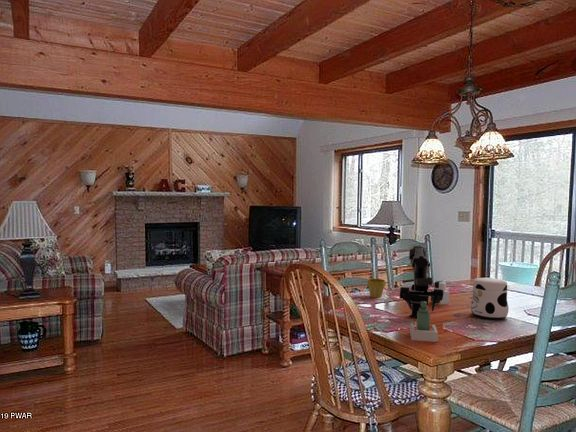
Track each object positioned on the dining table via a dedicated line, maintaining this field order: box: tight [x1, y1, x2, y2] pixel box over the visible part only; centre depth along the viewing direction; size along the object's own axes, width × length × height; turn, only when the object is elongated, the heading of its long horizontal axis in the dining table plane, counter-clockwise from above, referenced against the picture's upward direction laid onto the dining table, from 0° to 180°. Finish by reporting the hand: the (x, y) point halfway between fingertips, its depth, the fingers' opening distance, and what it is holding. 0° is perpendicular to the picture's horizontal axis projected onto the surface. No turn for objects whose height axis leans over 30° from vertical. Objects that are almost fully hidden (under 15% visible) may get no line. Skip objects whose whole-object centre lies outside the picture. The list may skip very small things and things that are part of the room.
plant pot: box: [366, 278, 386, 299], centre depth 262 cm, size 10×10×10 cm
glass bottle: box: [416, 301, 431, 331], centre depth 190 cm, size 5×5×14 cm
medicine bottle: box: [430, 280, 450, 306], centre depth 249 cm, size 7×7×12 cm
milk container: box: [470, 277, 510, 320], centre depth 223 cm, size 17×17×18 cm
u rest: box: [409, 322, 439, 343], centre depth 190 cm, size 10×10×4 cm
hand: (421, 310), depth 198 cm, fingers open, 9 cm apart
